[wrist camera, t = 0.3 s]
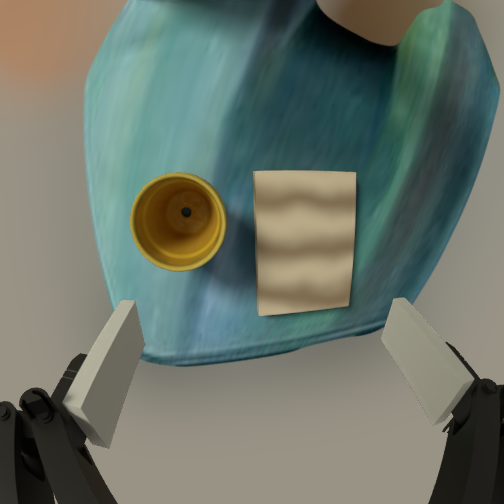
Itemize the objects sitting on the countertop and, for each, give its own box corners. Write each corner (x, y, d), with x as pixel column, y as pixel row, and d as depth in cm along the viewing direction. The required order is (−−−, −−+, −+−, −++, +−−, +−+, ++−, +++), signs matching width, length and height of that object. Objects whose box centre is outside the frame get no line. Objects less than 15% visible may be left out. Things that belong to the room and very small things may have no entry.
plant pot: (141, 233, 36) (117, 252, 27) (166, 163, 34) (148, 158, 25) (209, 259, 38) (206, 286, 29) (237, 190, 36) (243, 194, 27)
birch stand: (252, 171, 36) (255, 171, 33) (348, 172, 37) (355, 172, 35) (256, 308, 41) (259, 316, 39) (342, 299, 42) (348, 305, 40)
